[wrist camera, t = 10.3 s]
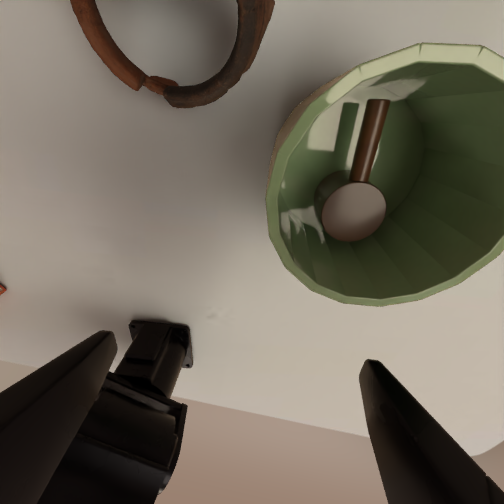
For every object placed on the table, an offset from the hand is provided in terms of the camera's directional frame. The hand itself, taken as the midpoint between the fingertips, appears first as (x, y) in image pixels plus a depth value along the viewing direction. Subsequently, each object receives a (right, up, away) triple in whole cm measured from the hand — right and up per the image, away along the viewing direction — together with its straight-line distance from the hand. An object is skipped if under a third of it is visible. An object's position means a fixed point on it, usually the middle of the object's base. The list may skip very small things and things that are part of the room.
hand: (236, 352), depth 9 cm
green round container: (+7, +10, +9) cm, 15 cm away
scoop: (+7, +9, +8) cm, 14 cm away
